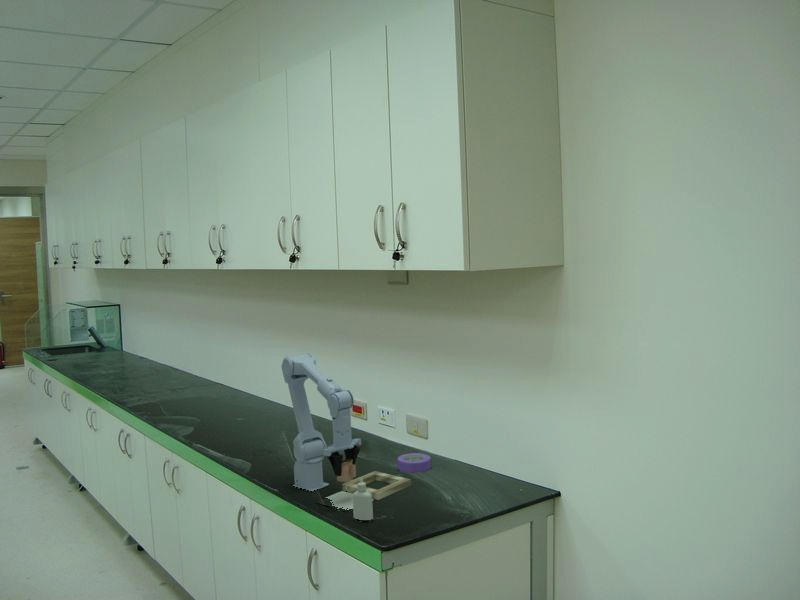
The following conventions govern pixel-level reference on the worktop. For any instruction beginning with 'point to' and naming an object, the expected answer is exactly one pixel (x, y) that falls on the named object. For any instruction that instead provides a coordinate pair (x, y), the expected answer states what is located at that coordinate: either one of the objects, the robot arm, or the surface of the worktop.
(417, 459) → the masking tape
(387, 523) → the worktop surface
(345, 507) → the mat
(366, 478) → the holder
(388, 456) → the worktop surface
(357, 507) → the eye dropper bottle
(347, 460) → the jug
